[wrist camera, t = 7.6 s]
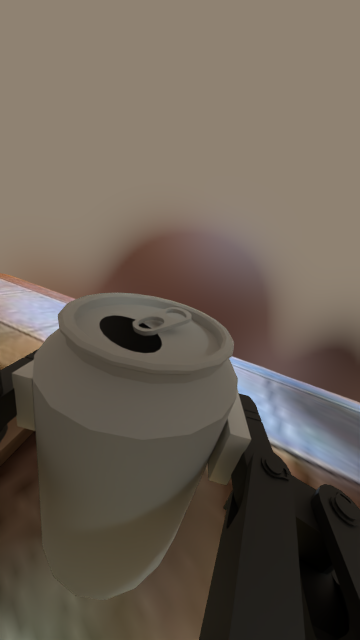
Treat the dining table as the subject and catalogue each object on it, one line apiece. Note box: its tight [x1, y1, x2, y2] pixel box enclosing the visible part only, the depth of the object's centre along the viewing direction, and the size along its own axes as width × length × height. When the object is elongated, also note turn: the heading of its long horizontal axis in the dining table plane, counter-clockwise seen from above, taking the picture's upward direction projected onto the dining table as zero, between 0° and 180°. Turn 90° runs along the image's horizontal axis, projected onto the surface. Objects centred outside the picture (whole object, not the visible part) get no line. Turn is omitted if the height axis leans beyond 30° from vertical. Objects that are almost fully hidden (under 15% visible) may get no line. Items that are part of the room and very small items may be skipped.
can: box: [33, 293, 238, 600], centre depth 9 cm, size 8×8×12 cm
